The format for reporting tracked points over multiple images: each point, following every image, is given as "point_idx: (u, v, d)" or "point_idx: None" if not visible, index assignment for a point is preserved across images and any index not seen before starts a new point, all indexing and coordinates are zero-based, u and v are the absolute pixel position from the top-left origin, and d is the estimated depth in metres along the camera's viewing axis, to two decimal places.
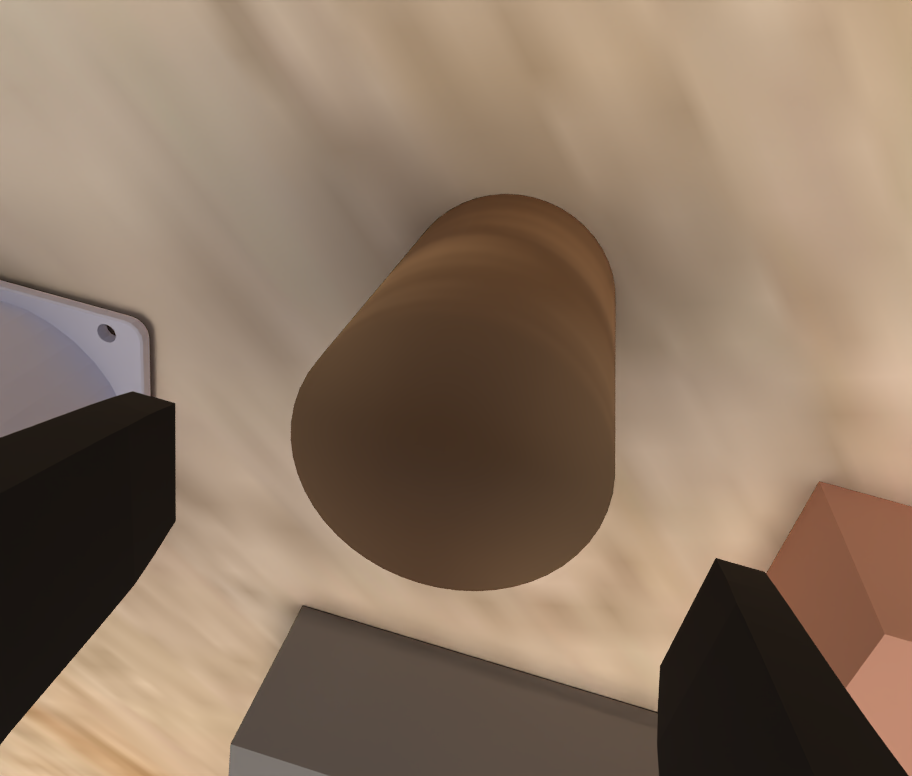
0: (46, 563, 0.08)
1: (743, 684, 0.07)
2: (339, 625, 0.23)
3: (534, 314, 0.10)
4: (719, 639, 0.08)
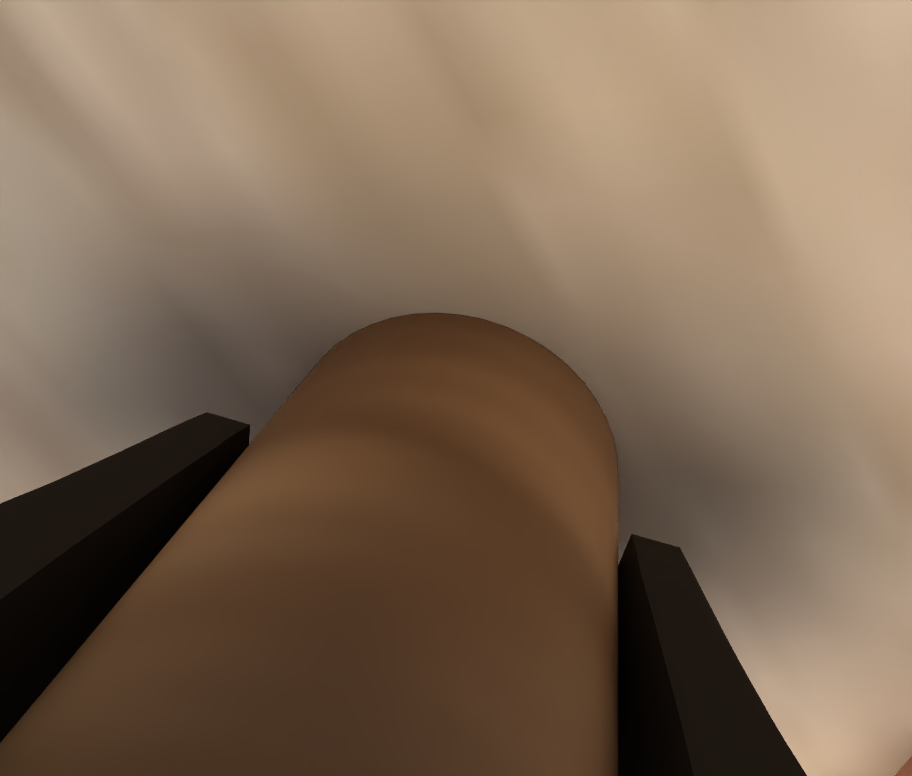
0: None
1: (640, 653, 0.07)
2: None
3: (422, 758, 0.04)
4: (626, 612, 0.08)
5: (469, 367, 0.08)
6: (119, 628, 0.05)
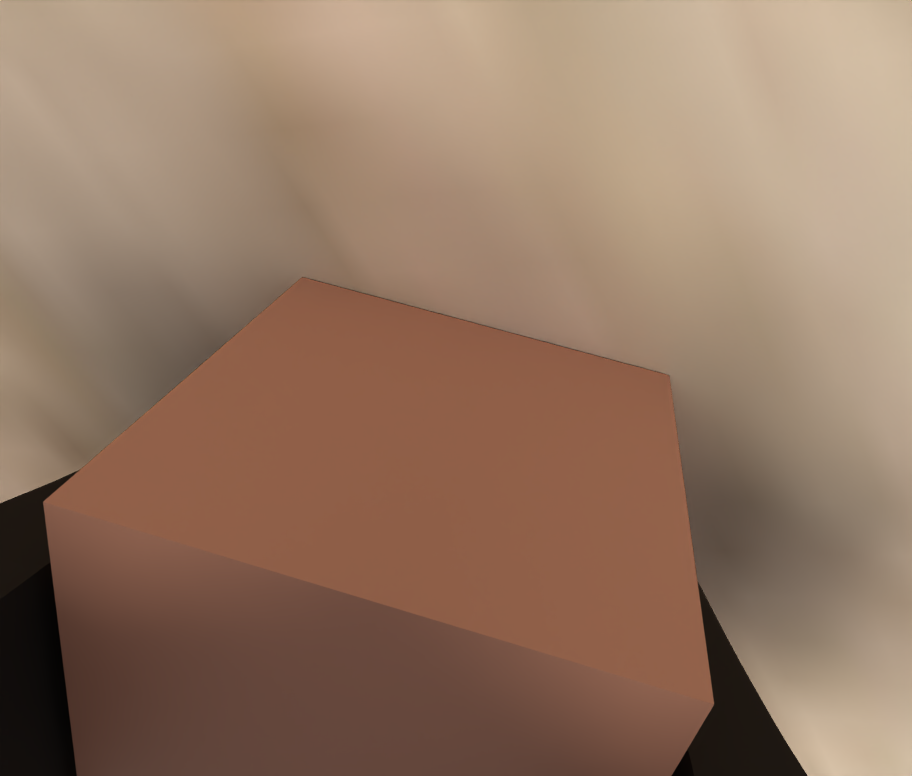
0: None
1: None
2: None
3: None
4: None
5: None
6: None
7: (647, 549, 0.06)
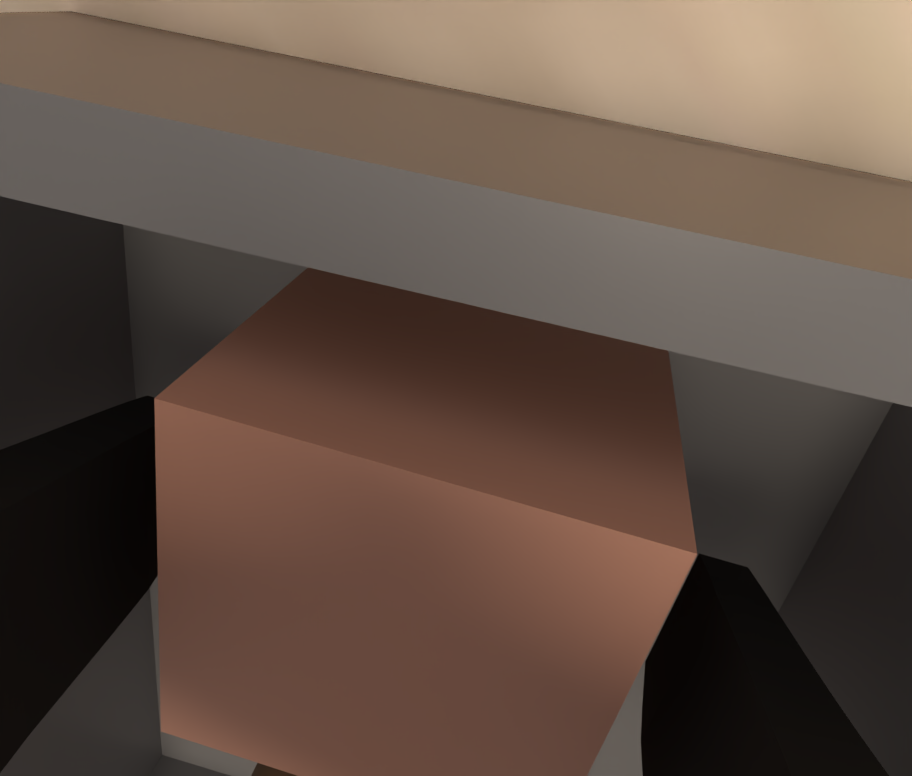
0: (65, 568, 0.08)
1: (722, 678, 0.07)
2: (145, 30, 0.10)
3: None
4: (700, 634, 0.08)
5: None
6: None
7: (644, 450, 0.07)
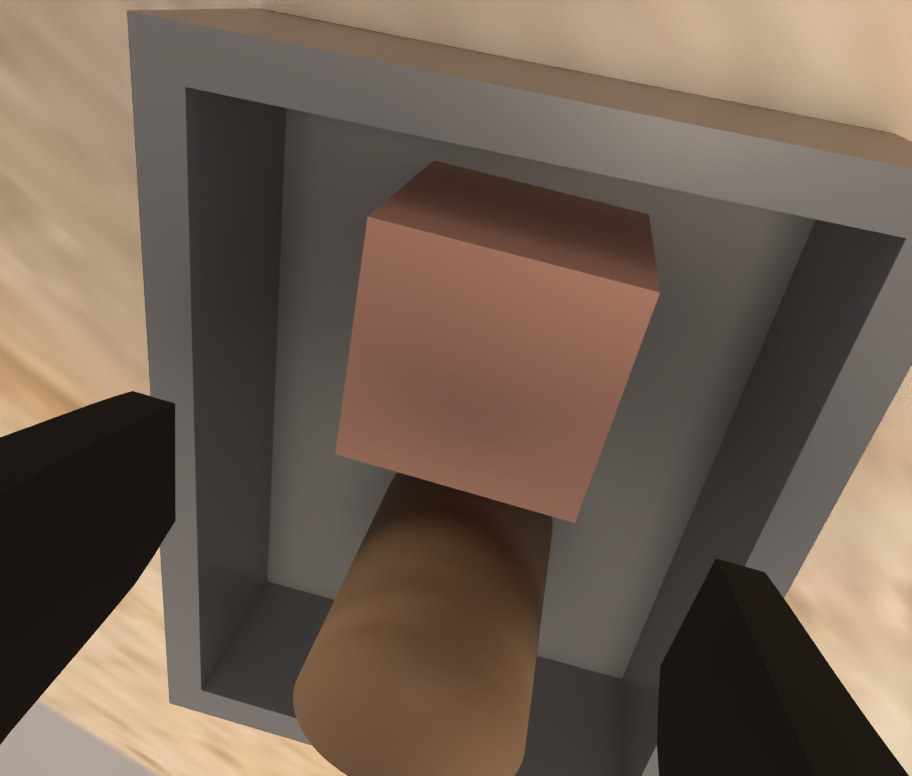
0: (47, 562, 0.08)
1: (743, 684, 0.07)
2: (311, 20, 0.16)
3: (490, 644, 0.15)
4: (719, 639, 0.08)
5: None
6: (383, 587, 0.15)
7: (633, 259, 0.13)
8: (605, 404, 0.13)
